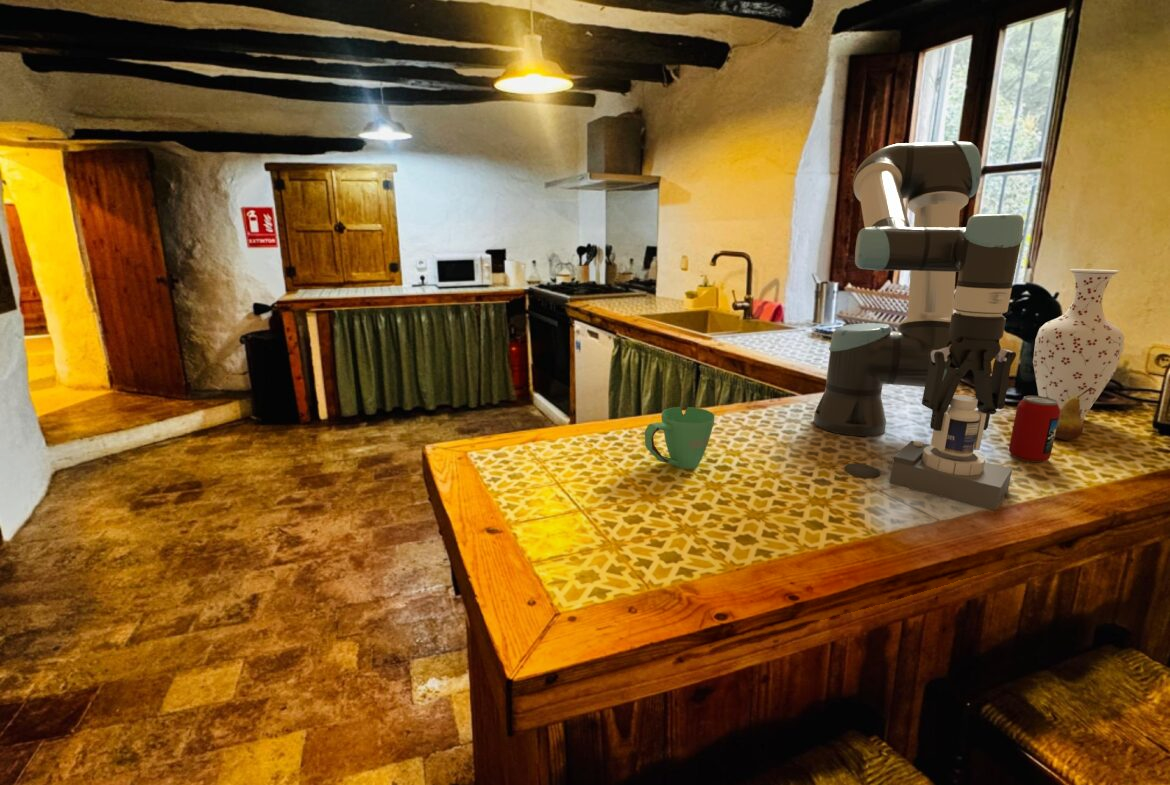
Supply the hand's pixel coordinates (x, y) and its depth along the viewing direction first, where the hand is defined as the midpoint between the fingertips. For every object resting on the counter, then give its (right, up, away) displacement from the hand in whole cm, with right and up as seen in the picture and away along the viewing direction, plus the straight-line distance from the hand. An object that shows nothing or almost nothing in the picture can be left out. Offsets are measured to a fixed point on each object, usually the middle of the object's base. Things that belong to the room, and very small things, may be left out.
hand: (954, 447), depth 104 cm
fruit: (+40, -1, +26) cm, 48 cm away
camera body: (0, -7, +2) cm, 7 cm away
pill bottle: (0, -1, 0) cm, 1 cm away
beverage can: (+24, -4, +16) cm, 29 cm away
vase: (+51, +3, +41) cm, 66 cm away
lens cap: (-12, -6, +8) cm, 16 cm away
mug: (-47, -5, +10) cm, 48 cm away
